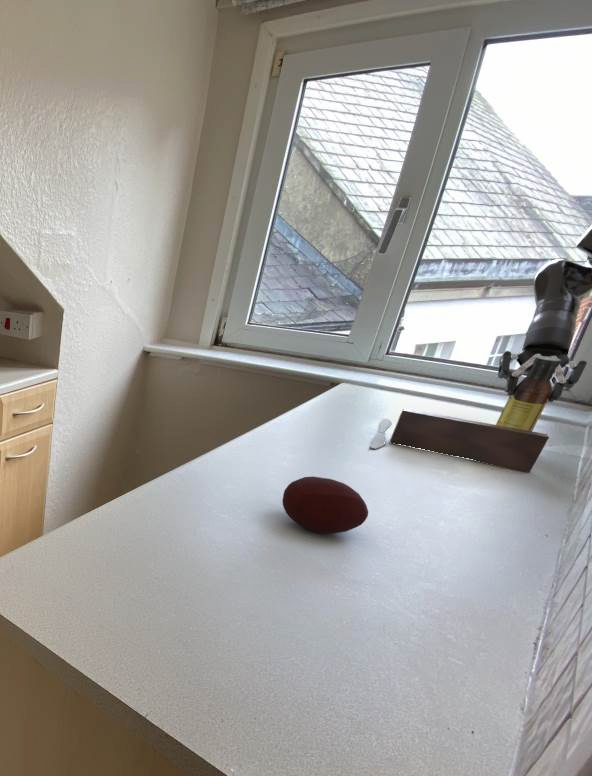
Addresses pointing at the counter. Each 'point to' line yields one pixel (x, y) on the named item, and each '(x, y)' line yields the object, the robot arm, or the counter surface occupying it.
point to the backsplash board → (469, 439)
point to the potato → (324, 505)
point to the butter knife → (381, 434)
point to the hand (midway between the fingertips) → (531, 396)
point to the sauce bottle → (530, 396)
